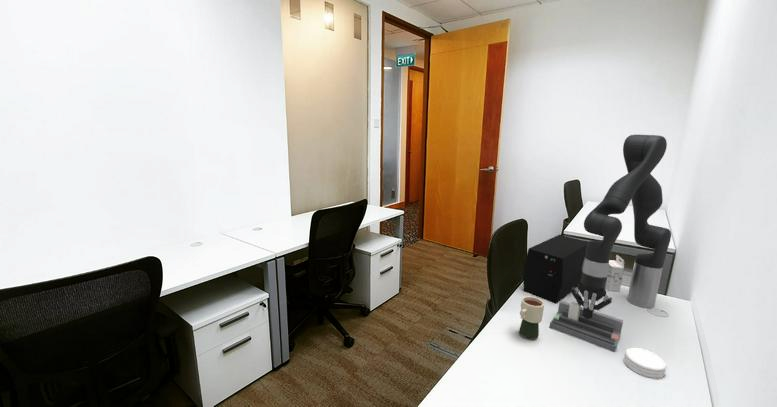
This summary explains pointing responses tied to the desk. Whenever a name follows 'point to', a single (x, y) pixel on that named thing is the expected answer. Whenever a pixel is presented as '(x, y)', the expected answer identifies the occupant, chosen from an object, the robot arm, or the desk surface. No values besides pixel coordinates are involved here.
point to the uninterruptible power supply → (554, 267)
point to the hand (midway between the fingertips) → (587, 317)
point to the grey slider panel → (589, 327)
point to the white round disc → (645, 362)
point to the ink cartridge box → (615, 274)
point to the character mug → (531, 316)
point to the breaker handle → (574, 311)
